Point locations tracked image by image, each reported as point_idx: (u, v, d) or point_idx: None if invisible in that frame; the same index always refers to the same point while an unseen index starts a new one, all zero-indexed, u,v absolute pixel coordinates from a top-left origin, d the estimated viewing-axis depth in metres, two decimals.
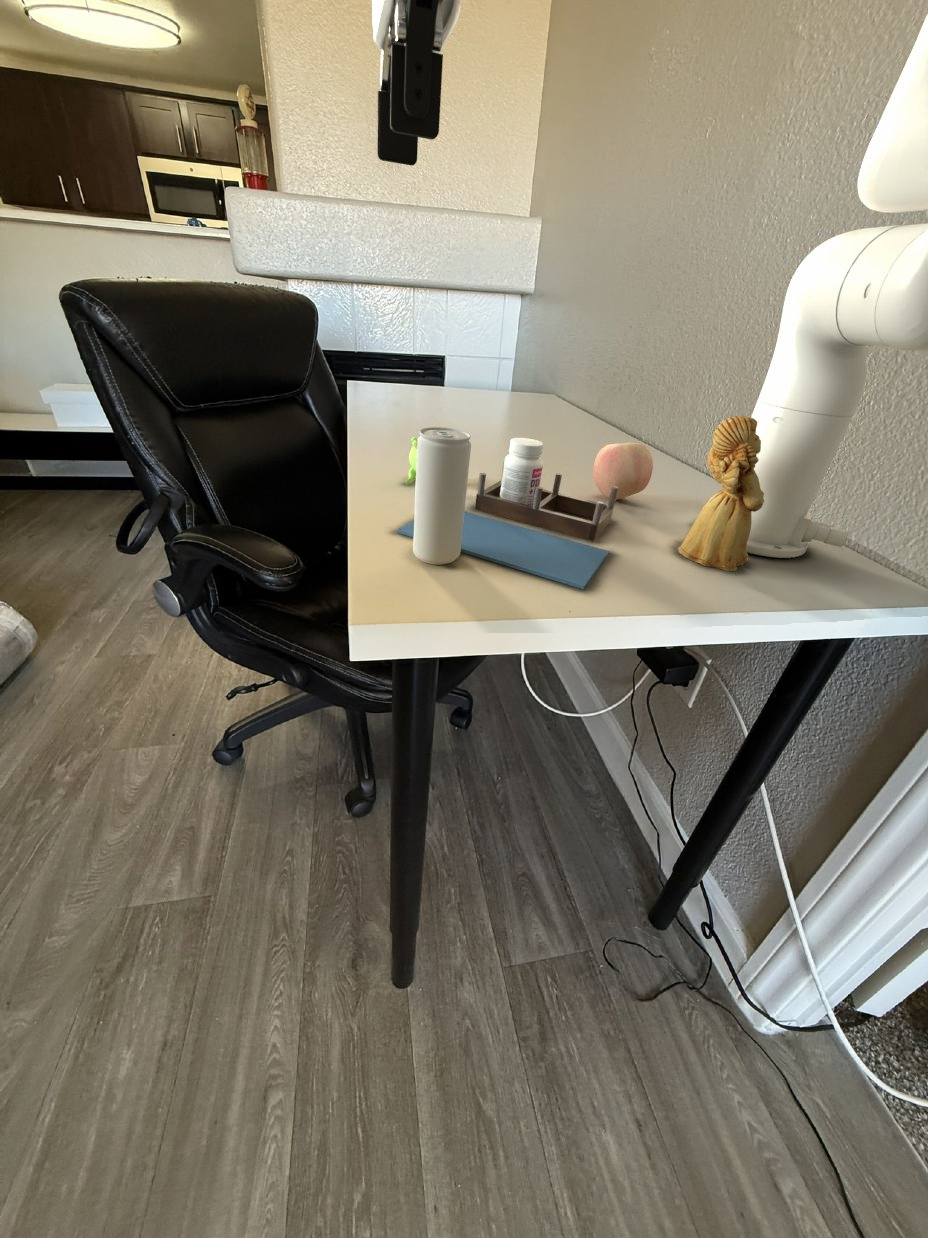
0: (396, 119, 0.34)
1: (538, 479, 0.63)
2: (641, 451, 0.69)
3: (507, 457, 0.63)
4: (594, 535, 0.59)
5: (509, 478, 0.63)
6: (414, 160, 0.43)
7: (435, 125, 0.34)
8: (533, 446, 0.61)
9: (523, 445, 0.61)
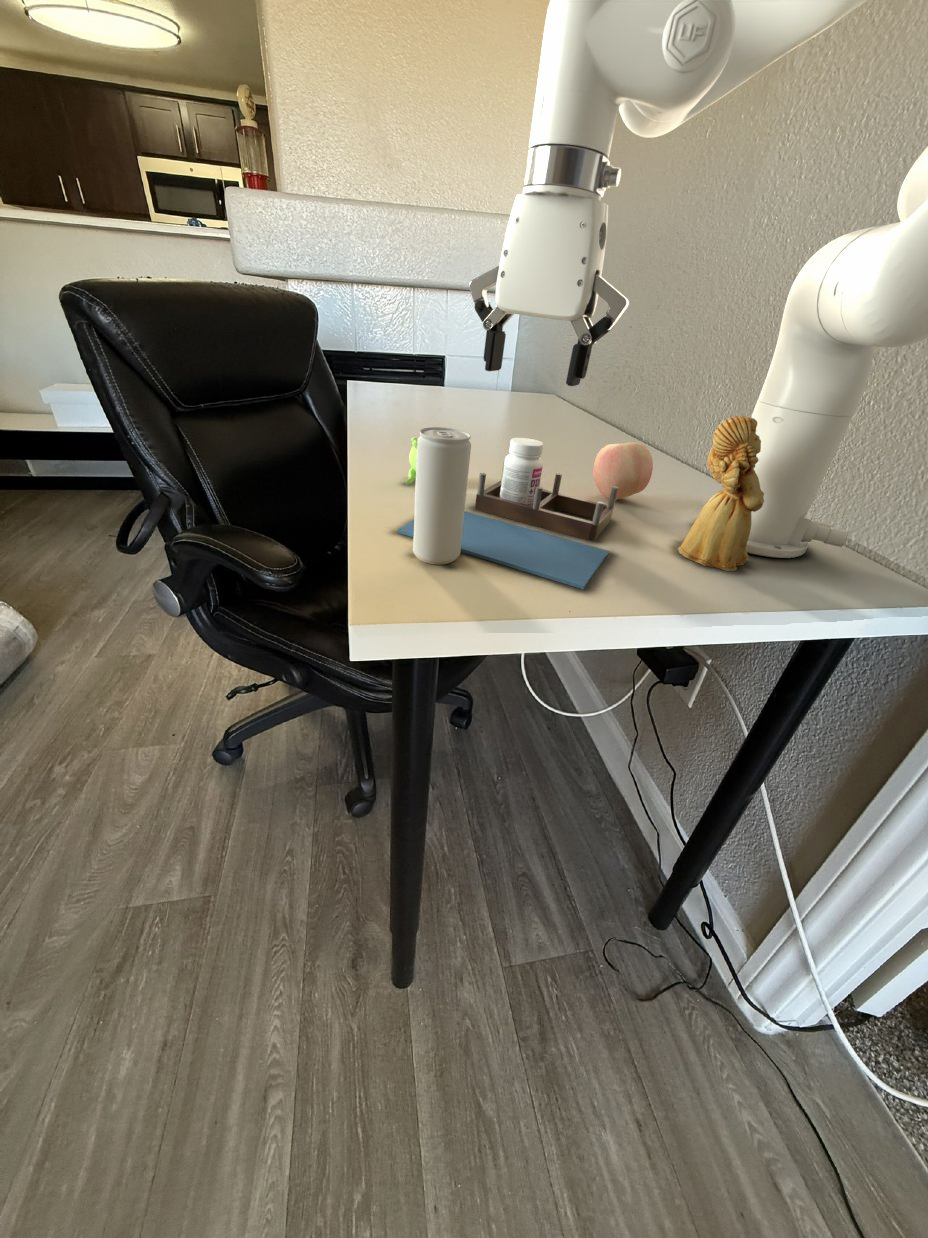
0: (573, 380, 0.55)
1: (538, 479, 0.63)
2: (641, 451, 0.69)
3: (507, 457, 0.63)
4: (594, 535, 0.59)
5: (509, 478, 0.63)
6: (500, 367, 0.61)
7: (580, 378, 0.57)
8: (533, 446, 0.61)
9: (523, 445, 0.61)
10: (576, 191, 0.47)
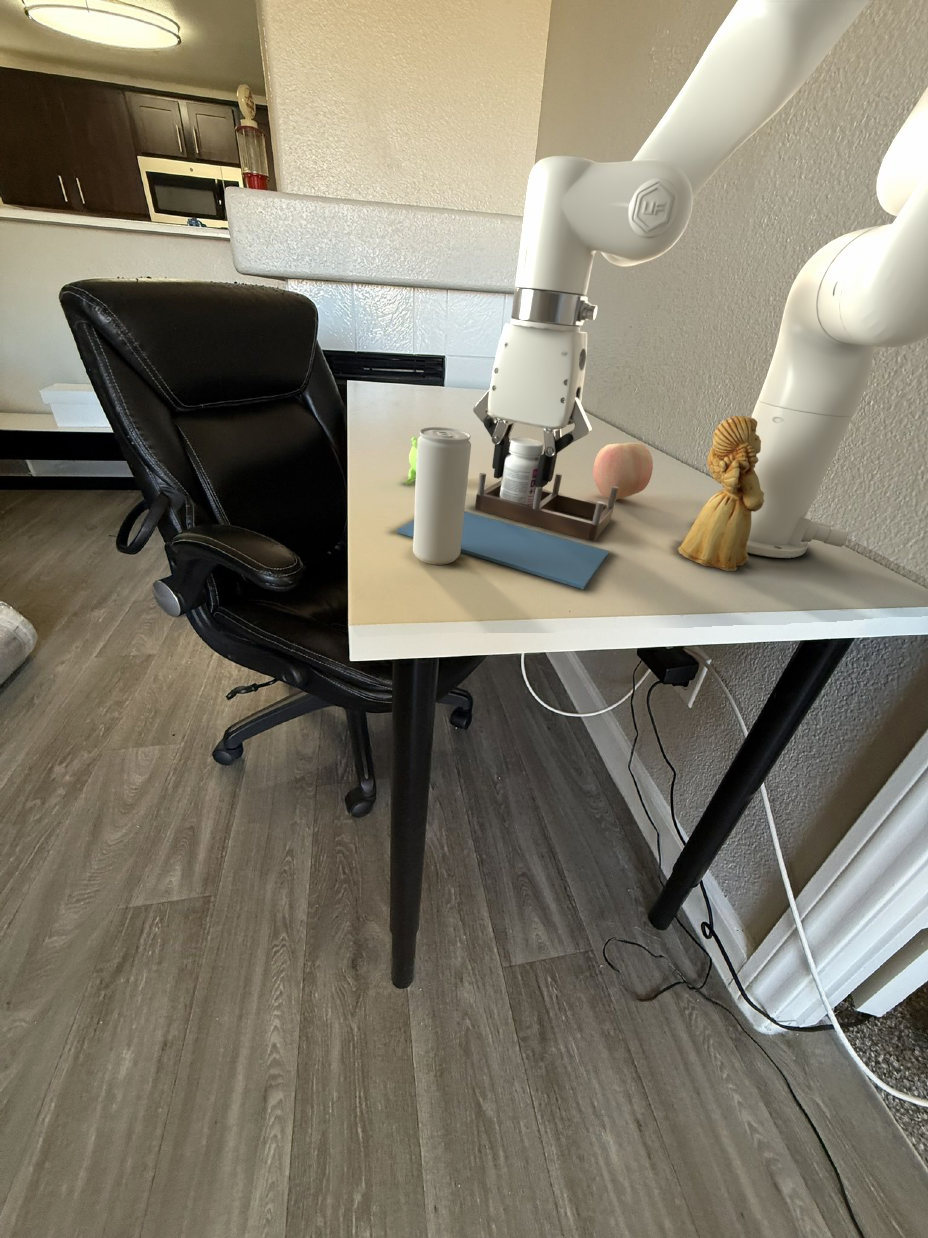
0: (541, 484, 0.63)
1: None
2: (641, 451, 0.69)
3: (507, 457, 0.63)
4: (594, 535, 0.59)
5: (509, 478, 0.63)
6: None
7: None
8: (533, 446, 0.61)
9: (523, 445, 0.61)
10: (557, 327, 0.53)
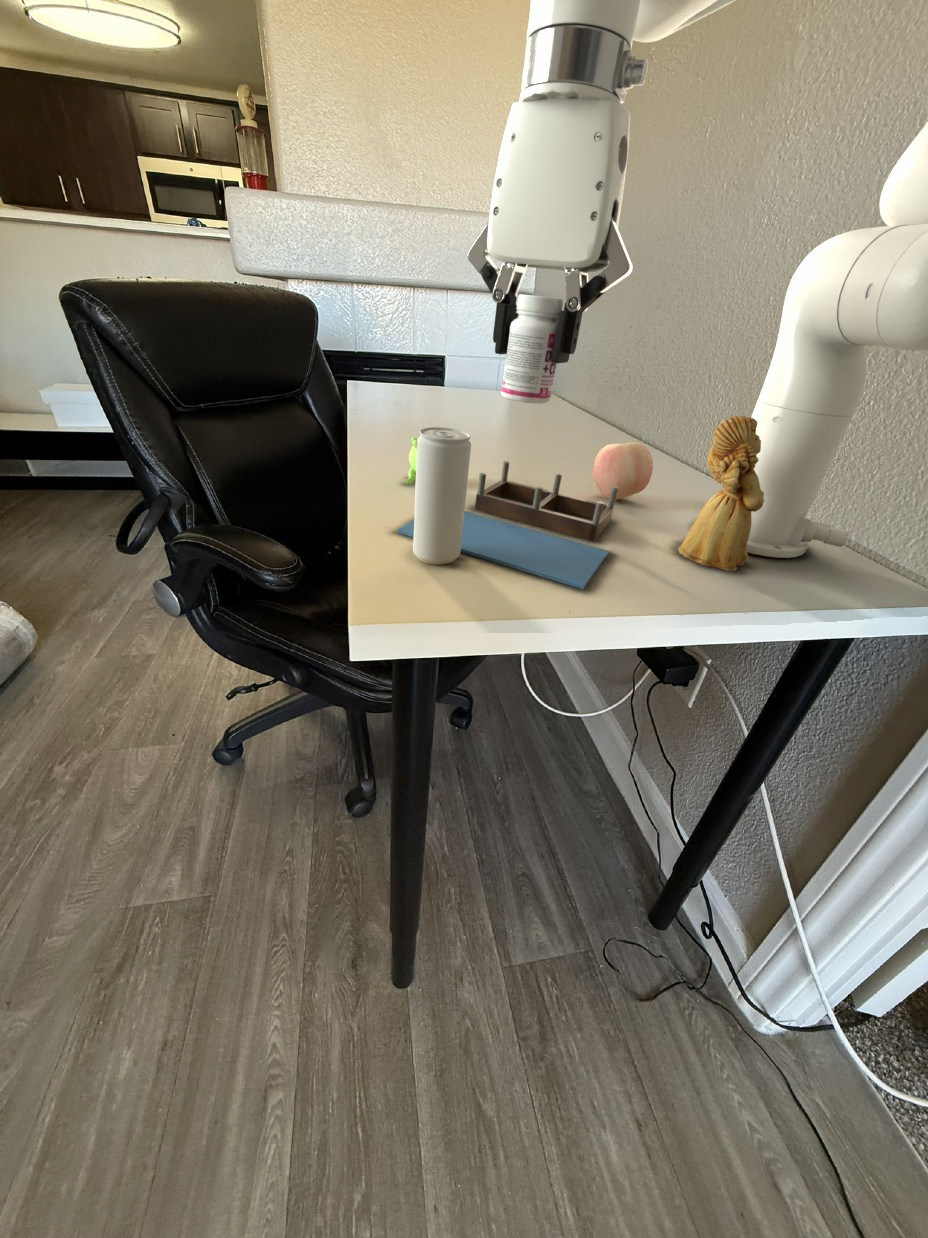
0: (559, 356, 0.46)
1: None
2: (641, 451, 0.69)
3: (513, 320, 0.46)
4: (594, 535, 0.59)
5: (516, 349, 0.46)
6: None
7: (568, 354, 0.48)
8: (550, 298, 0.44)
9: (536, 297, 0.44)
10: (589, 90, 0.36)
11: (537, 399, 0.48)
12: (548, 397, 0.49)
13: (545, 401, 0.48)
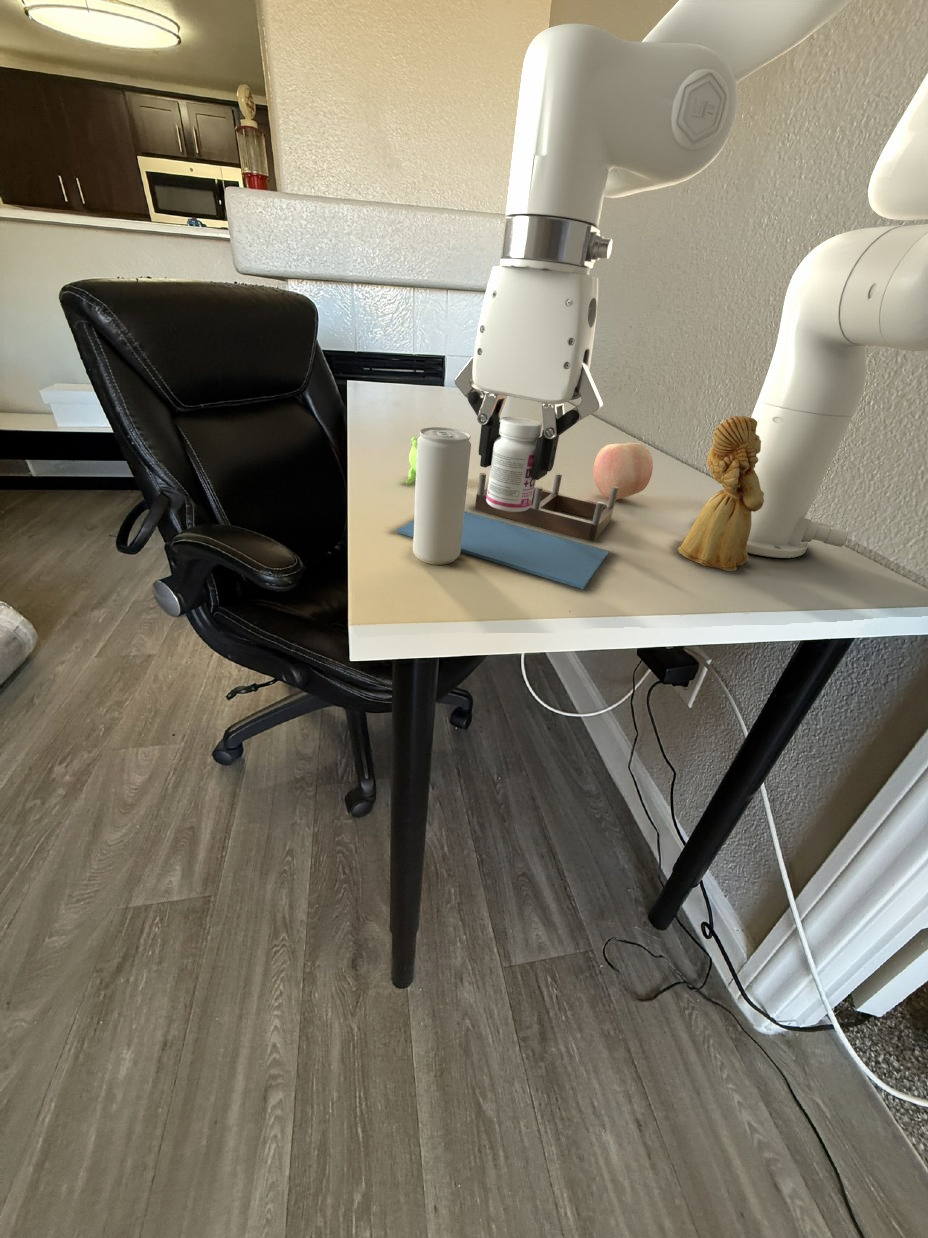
0: (538, 474, 0.50)
1: None
2: (641, 451, 0.69)
3: (496, 441, 0.51)
4: (594, 535, 0.59)
5: (499, 467, 0.51)
6: None
7: None
8: (529, 426, 0.48)
9: (516, 425, 0.48)
10: (560, 266, 0.40)
11: (519, 508, 0.52)
12: (529, 505, 0.53)
13: (526, 509, 0.53)
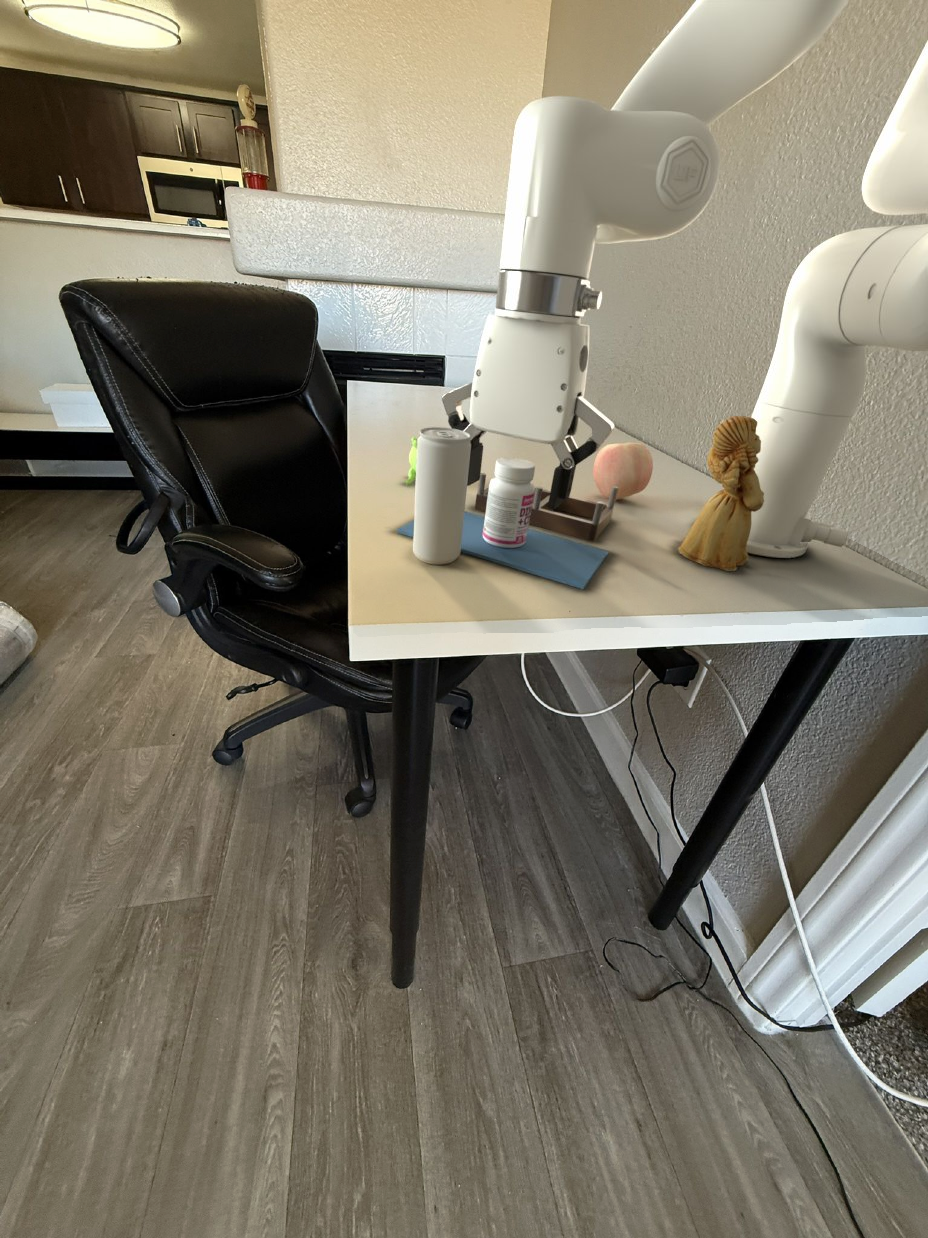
0: (556, 503, 0.51)
1: (529, 507, 0.53)
2: (641, 451, 0.69)
3: (492, 481, 0.53)
4: (594, 535, 0.59)
5: (494, 506, 0.53)
6: (478, 478, 0.56)
7: None
8: (522, 469, 0.51)
9: (510, 468, 0.51)
10: (552, 318, 0.42)
11: (514, 545, 0.54)
12: (524, 541, 0.55)
13: (521, 545, 0.55)
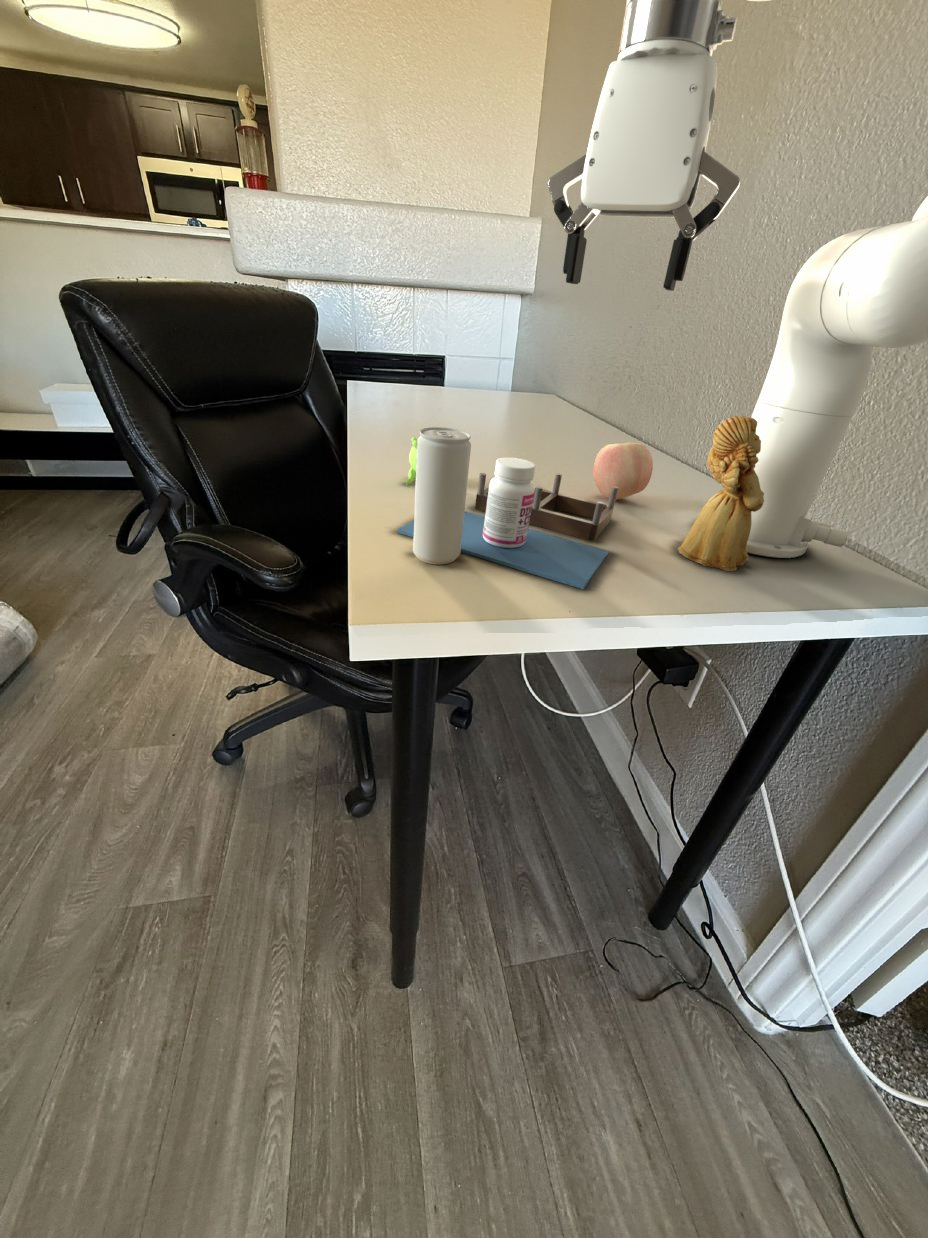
0: (672, 282, 0.49)
1: (529, 507, 0.53)
2: (641, 451, 0.69)
3: (492, 481, 0.53)
4: (594, 535, 0.59)
5: (494, 506, 0.53)
6: (579, 281, 0.55)
7: (675, 283, 0.51)
8: (523, 469, 0.51)
9: (511, 468, 0.51)
10: (688, 45, 0.41)
11: (514, 545, 0.54)
12: (524, 541, 0.55)
13: (521, 545, 0.55)
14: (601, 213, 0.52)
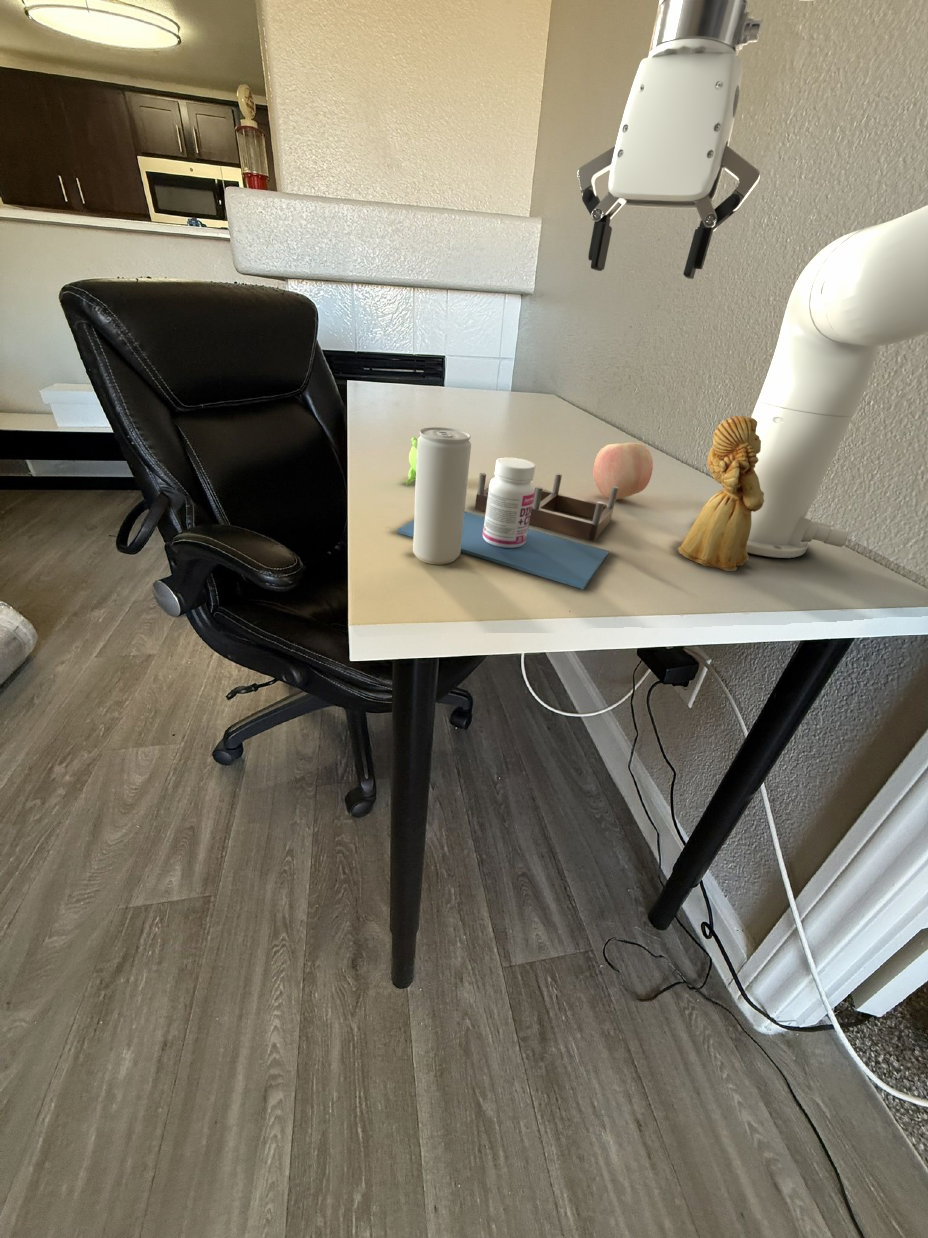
0: (692, 270, 0.52)
1: (529, 507, 0.53)
2: (641, 451, 0.69)
3: (492, 481, 0.53)
4: (594, 535, 0.59)
5: (494, 506, 0.53)
6: (603, 268, 0.57)
7: None
8: (523, 469, 0.51)
9: (511, 468, 0.51)
10: (715, 44, 0.43)
11: (514, 545, 0.54)
12: (524, 541, 0.55)
13: (521, 545, 0.55)
14: (627, 203, 0.55)
